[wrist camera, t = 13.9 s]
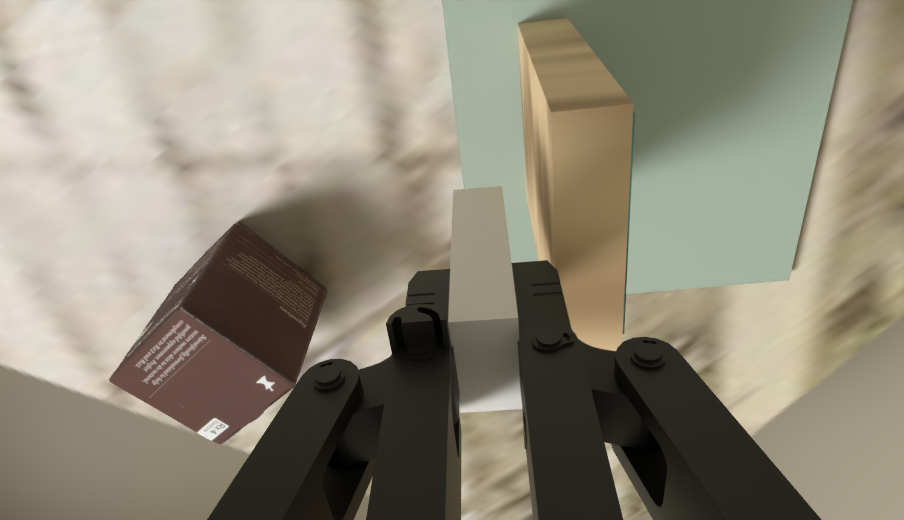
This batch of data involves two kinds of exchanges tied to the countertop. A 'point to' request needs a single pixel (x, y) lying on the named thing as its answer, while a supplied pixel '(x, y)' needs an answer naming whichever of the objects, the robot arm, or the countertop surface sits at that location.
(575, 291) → the tile
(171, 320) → the box
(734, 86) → the mat
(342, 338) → the countertop surface
